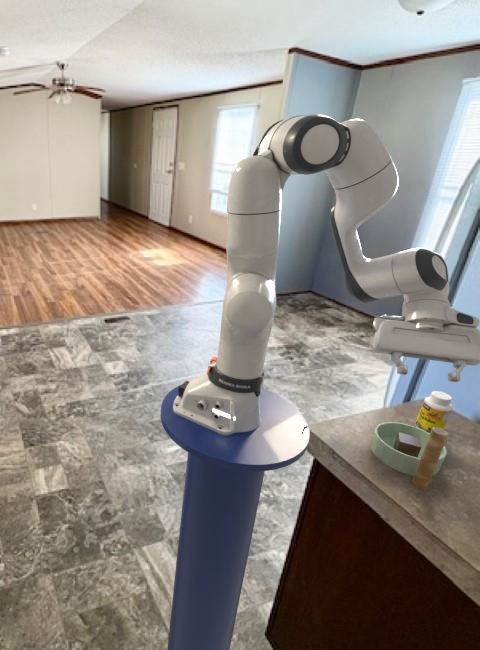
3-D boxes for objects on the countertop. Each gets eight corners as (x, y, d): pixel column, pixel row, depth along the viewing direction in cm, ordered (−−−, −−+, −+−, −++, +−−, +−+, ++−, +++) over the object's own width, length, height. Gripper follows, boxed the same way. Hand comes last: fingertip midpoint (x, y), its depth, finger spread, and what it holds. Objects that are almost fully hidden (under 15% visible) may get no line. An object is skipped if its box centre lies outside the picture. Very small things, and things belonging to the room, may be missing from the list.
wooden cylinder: (412, 487, 88) (432, 432, 83) (411, 479, 90) (431, 425, 85) (427, 492, 87) (449, 437, 81) (425, 484, 89) (447, 429, 84)
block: (394, 455, 96) (399, 441, 95) (393, 445, 99) (398, 431, 98) (416, 461, 94) (421, 447, 93) (414, 451, 97) (419, 437, 96)
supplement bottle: (409, 424, 107) (422, 390, 103) (425, 421, 109) (438, 387, 105) (430, 438, 103) (445, 403, 99) (447, 434, 104) (462, 399, 100)
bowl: (370, 463, 95) (376, 447, 93) (369, 430, 105) (374, 415, 104) (444, 485, 89) (451, 468, 87) (435, 448, 99) (441, 433, 98)
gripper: (378, 308, 97) (377, 365, 92) (488, 319, 90) (493, 381, 85) (369, 319, 102) (368, 373, 98) (472, 330, 96) (476, 389, 91)
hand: (427, 377), depth 91 cm, fingers open, 8 cm apart
